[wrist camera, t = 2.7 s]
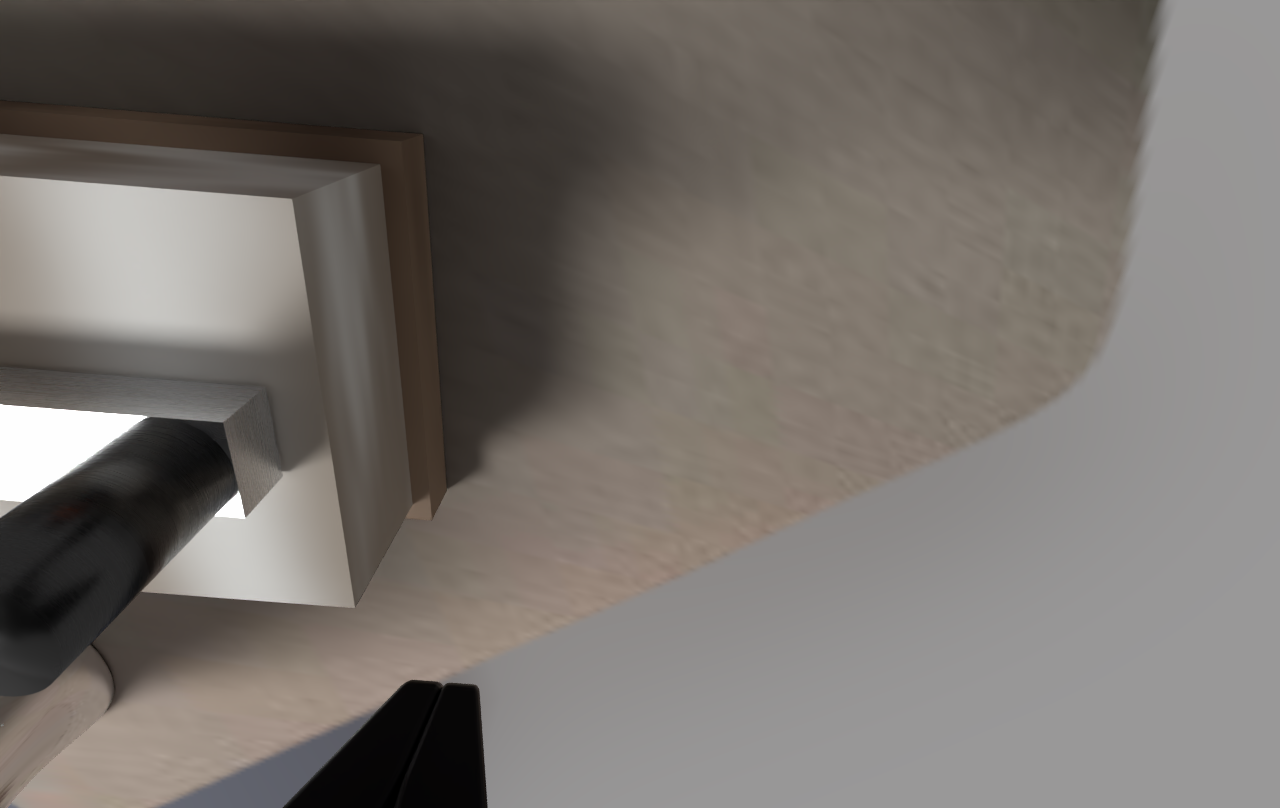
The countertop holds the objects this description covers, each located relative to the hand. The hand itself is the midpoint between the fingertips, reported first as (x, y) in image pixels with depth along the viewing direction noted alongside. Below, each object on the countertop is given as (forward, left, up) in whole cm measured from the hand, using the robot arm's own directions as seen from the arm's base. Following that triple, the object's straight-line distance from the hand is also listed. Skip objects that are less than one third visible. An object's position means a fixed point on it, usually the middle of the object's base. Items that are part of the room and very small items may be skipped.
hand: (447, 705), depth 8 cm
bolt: (+10, 0, -6) cm, 12 cm away
